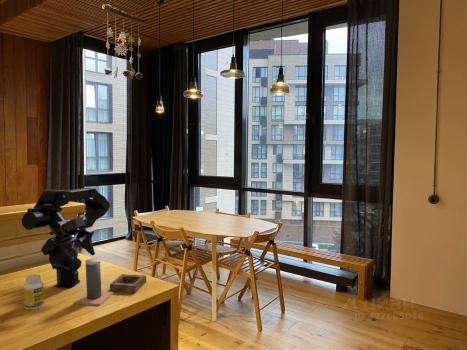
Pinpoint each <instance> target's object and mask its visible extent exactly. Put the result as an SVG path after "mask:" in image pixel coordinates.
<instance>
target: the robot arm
mask: <svg viewBox="0 0 467 350" xmlns="http://www.w3.org/2000/svg"><path fill="white" fill-rule="evenodd" d="M79 200H83V204H84V205H85V207H84V210H85V211H84V212H85V213H84V214H80V215H78V216H76V218H73V219H66V218H65V216H64V215H63V214H62V211H63V209H64V208H63V206H66V205H68V204H69V203H70V202H72V201H73V202H74V201H79ZM110 205H111V204H110V202H109V201H108V199H107V198H106V197H105V196H104V195H103V194H101V192H99V191H98V190H97V189H96V188H94V187H83V188H76V189H69V190H65V189H64V190H62V189H50V188H49V189H47V188H46V189H45V190H43V191H42V194H41V195H40V196H39V198H38V200H37V202H36V203H35V205H34V207H32V208H30V207H29V208H27V209H26V210H27V211H26V212H24V214H23V216H22V218H21V224H22V227H23V228H24V229H25V230H26V231H27V230H28V231H31V230H36V229H42V228H46V227H48V228H49V229H50V231H49V234H50V236H53V235H54V236H53V237H50V238H47V240H45V242H44V243H43V245H41V250H40V251H41V253H42V254H43V256H47V255H48V260H49V264H50V266H51V268H52V270H56V284H55V285H54V286H53V287H54V288H65V289H70V288H73V287H74V286H76V285H77V284H78V283H80V282H81V280H80V279H79V271H78V270H79V269H80V268H82V267H81V266H82V262H83V261H82V260H81V259H80V258H79V257H78V256H79V247H82V248H83V249H84V250H85V251H86V252H87V253H88V254H90V255H91V256H94V255H95V253H96V252H95V249H94V244H93V240H92V238H93V236H94V233H95V232H96V230H95V228H94V227H93V225H94V224H95V223H96V221H97V220H99V219H100V218H102V217H105V215H106V214H107V213H108V211H109V209H110Z"/></svg>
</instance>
